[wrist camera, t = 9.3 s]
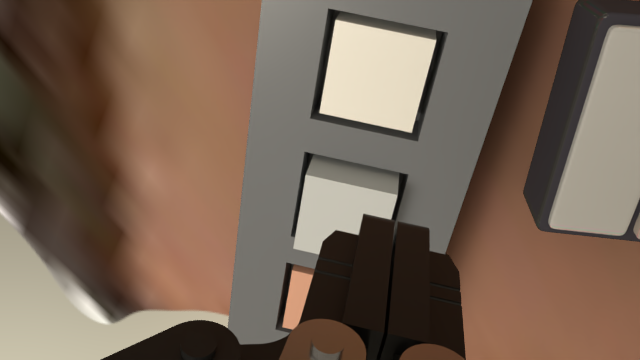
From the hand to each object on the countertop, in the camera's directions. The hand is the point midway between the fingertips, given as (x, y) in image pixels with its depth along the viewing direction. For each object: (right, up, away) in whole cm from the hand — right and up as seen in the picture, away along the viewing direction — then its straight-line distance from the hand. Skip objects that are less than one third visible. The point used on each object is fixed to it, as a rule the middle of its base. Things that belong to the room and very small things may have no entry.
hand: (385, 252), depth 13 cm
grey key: (0, +1, +17) cm, 17 cm away
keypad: (0, +2, +19) cm, 19 cm away
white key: (+1, +7, +14) cm, 16 cm away
